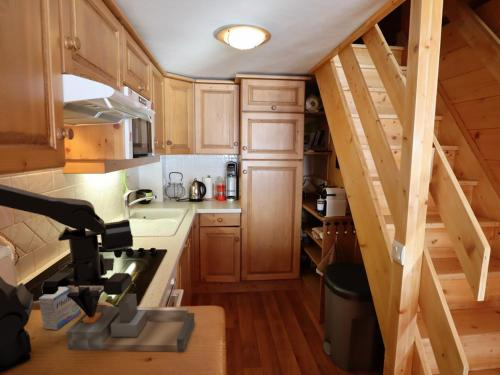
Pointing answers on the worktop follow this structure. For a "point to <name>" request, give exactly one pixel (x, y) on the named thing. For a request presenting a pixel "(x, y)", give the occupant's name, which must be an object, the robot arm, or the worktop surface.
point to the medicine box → (57, 309)
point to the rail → (149, 339)
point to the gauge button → (92, 318)
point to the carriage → (128, 318)
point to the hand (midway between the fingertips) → (91, 316)
